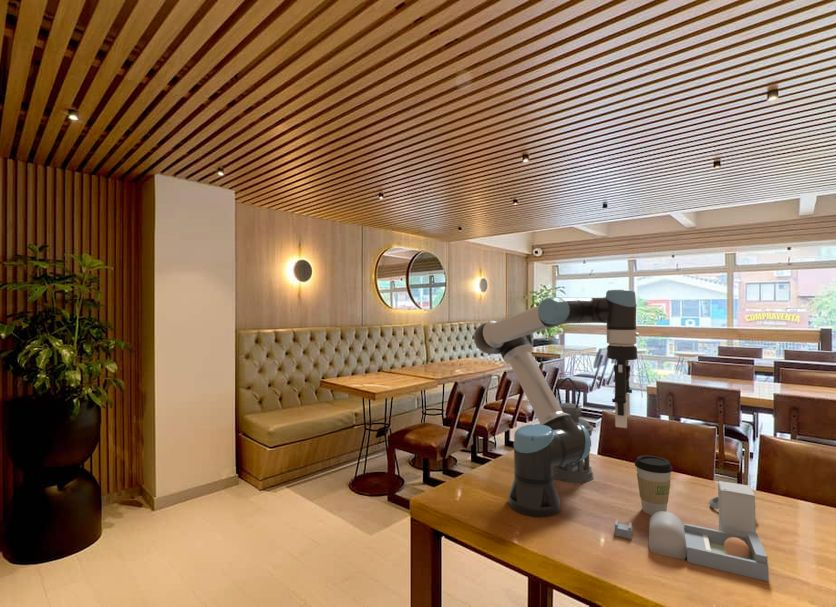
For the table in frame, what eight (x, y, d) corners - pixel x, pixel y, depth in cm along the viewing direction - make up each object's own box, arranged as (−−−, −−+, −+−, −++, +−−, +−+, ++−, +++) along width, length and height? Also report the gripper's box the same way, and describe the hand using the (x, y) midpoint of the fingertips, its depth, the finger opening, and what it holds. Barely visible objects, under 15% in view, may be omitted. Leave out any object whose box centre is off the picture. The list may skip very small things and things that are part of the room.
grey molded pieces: (613, 551, 107) (612, 520, 107) (617, 529, 118) (616, 500, 118) (768, 591, 92) (768, 554, 92) (757, 560, 103) (756, 527, 103)
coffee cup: (679, 520, 118) (678, 467, 119) (641, 517, 120) (640, 465, 121) (666, 505, 128) (665, 455, 128) (631, 502, 130) (630, 453, 130)
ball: (734, 568, 98) (720, 547, 99) (730, 556, 102) (717, 536, 103) (757, 563, 96) (743, 541, 97) (752, 551, 100) (739, 530, 101)
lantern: (536, 473, 154) (535, 377, 154) (559, 462, 165) (558, 372, 166) (581, 487, 141) (579, 383, 142) (602, 473, 153) (600, 377, 153)
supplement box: (756, 546, 105) (755, 495, 106) (720, 538, 109) (719, 489, 110) (752, 533, 112) (751, 485, 112) (718, 525, 116) (717, 479, 116)
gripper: (634, 349, 105) (636, 434, 104) (638, 342, 126) (639, 412, 126) (602, 348, 108) (603, 430, 108) (611, 341, 130) (612, 410, 130)
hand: (623, 421), depth 117 cm, fingers open, 13 cm apart
